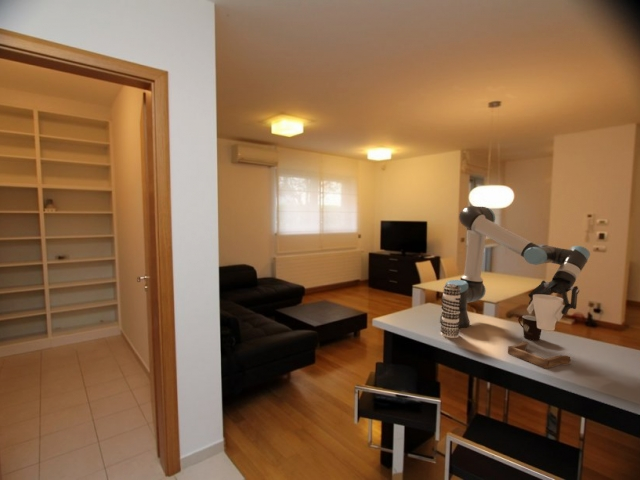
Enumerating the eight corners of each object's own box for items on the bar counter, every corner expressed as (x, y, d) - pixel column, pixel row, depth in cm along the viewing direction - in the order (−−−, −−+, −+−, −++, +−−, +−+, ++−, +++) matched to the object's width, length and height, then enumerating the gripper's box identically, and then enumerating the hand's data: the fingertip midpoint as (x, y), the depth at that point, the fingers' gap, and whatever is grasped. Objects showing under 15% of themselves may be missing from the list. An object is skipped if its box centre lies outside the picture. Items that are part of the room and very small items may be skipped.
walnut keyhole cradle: (504, 351, 139) (504, 345, 139) (523, 347, 145) (524, 340, 145) (550, 370, 122) (551, 362, 122) (570, 364, 128) (571, 356, 128)
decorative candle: (455, 332, 163) (458, 283, 162) (462, 338, 154) (465, 287, 152) (437, 331, 164) (439, 282, 162) (443, 337, 155) (445, 286, 153)
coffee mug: (545, 342, 152) (547, 321, 151) (525, 340, 153) (526, 320, 153) (534, 334, 163) (535, 314, 162) (515, 332, 165) (517, 313, 164)
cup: (567, 333, 131) (570, 300, 130) (543, 333, 130) (545, 300, 129) (547, 324, 141) (549, 294, 140) (524, 324, 140) (526, 294, 139)
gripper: (600, 286, 131) (577, 329, 125) (541, 277, 151) (518, 313, 145) (595, 274, 128) (570, 317, 122) (535, 266, 148) (511, 302, 142)
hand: (542, 315), depth 134 cm, fingers closed on cup, 10 cm apart
